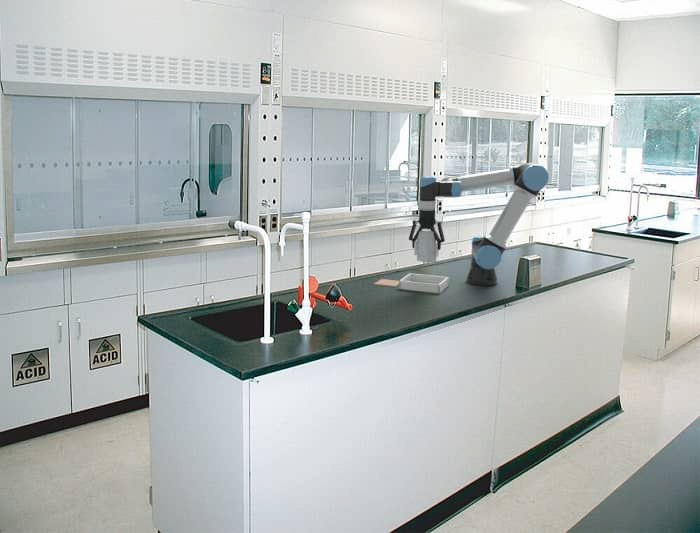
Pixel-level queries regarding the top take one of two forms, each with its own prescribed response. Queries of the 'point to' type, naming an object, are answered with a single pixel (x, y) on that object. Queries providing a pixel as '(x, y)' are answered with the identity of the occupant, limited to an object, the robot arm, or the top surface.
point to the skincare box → (426, 246)
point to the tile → (387, 283)
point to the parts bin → (424, 283)
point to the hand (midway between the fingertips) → (426, 255)
